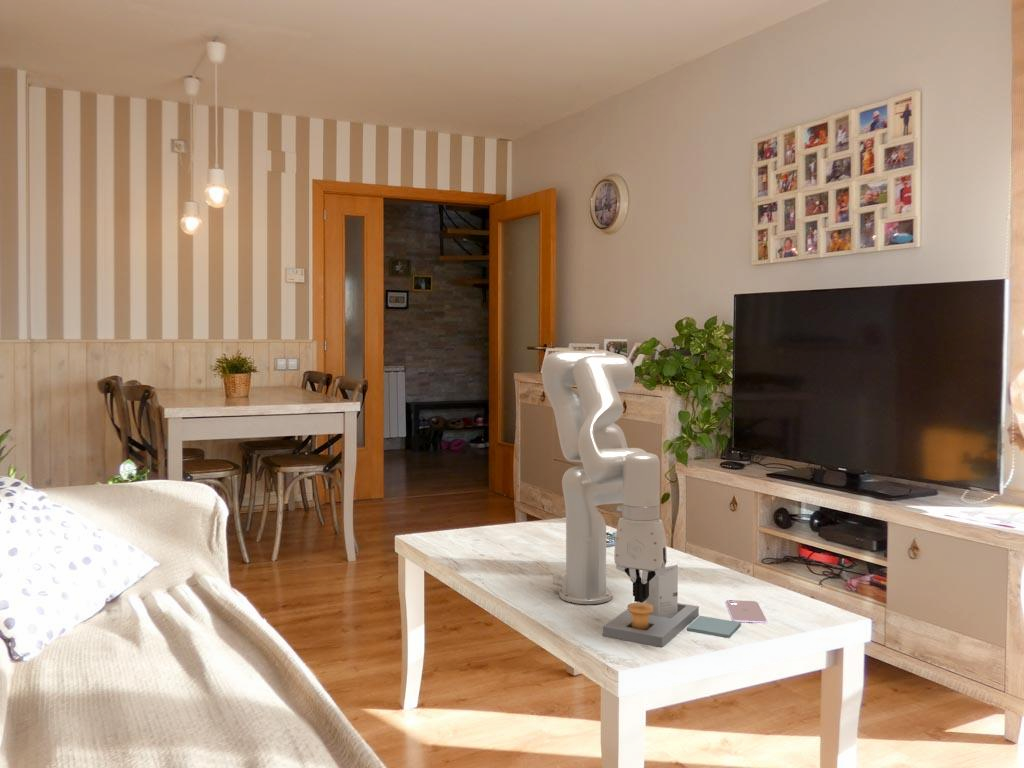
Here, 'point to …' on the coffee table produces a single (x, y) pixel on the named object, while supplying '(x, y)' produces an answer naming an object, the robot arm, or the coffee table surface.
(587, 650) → the coffee table surface
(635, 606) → the plunger
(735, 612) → the mobile phone
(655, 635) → the housing
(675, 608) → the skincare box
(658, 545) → the robot arm
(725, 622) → the mat
